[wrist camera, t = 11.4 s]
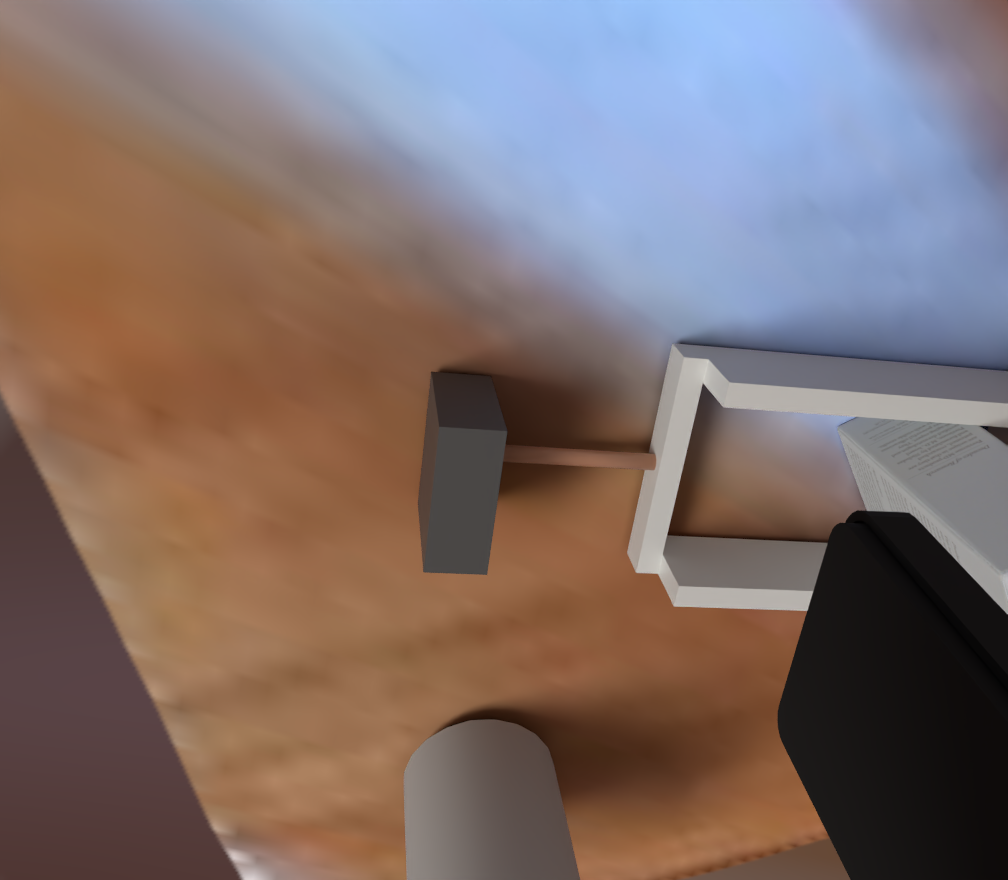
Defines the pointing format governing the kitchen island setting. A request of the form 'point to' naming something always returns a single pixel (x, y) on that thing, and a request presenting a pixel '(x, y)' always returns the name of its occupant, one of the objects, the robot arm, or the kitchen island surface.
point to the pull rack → (735, 384)
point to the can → (485, 807)
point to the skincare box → (939, 487)
